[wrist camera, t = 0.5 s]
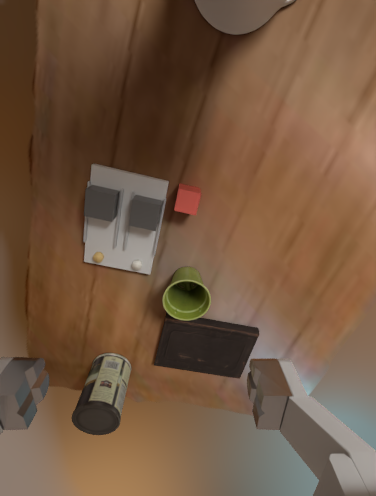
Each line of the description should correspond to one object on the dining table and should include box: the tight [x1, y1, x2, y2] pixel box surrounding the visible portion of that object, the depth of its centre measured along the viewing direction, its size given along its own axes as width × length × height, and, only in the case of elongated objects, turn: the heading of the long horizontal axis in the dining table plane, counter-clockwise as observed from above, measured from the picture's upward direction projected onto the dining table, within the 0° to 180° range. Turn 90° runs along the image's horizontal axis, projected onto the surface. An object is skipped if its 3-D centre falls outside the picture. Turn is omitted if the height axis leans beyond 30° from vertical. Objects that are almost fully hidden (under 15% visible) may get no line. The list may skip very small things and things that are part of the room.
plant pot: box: [163, 267, 211, 321], centre depth 54 cm, size 9×9×9 cm
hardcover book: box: [154, 312, 259, 378], centre depth 66 cm, size 16×23×2 cm
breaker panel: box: [83, 163, 169, 274], centre depth 51 cm, size 20×14×2 cm
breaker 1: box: [84, 185, 120, 222], centre depth 47 cm, size 5×5×3 cm
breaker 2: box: [129, 195, 162, 231], centre depth 48 cm, size 5×5×3 cm
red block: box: [174, 183, 201, 215], centre depth 48 cm, size 4×4×5 cm
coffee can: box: [72, 353, 131, 435], centre depth 63 cm, size 10×10×14 cm
